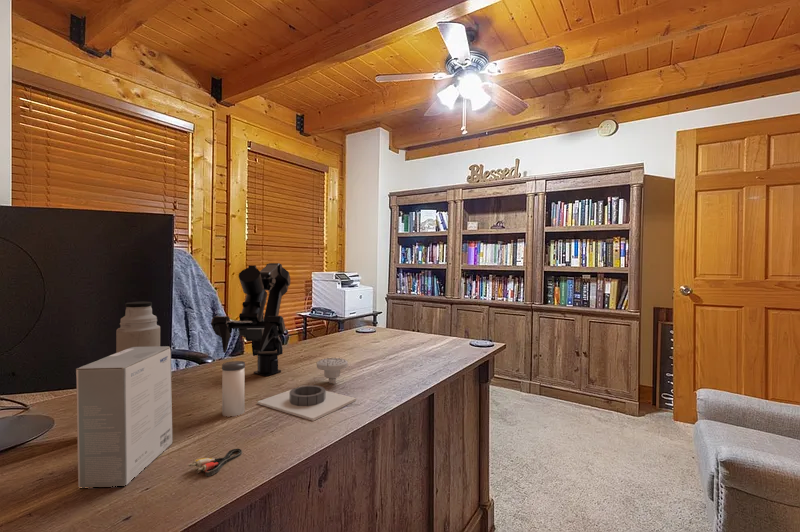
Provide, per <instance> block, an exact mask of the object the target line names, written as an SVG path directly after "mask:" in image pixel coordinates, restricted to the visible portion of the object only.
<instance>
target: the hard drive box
mask: <svg viewBox="0 0 800 532" xmlns="http://www.w3.org/2000/svg"><path fill="white" fill-rule="evenodd" d="M171 355H172V354H171V347H170V346H168V345H167V346H166V345H165V346H164V345H163V346H161V345H160V346H154V347H131V348H129V349H126V350H123V351H121V352H118V353H116V352H115V353H113V354H110V355H108V356H105V357H103V358H100V359H98V360H96V361H93V362H90V363H87V364H85V365H82V366H80V367H77V368H75V375H76V428H77V431H76V432H77V479H78V481H77V488H78V487H82V488H85V487H111V488H118V487H117V486H125V485H126V486H127V485H128V484H130V483H131V482H132V481H133V480H132V479H133V478H134V477H135V478H137V476H139V475H140V474H141V473H142V472H143V470H144V468H145V467H146V468H147V467H148V466H149V465H150V464H152V462H153V461H154V460H156V458H158V457H159V456H160V455H161V454H162V453H164V452H163V451H166V449H168V447H170V446H171V445H172V444H173V408H172V407H173V406H172V404H173V403H172V402H173V400H172V356H171ZM146 468H145V469H146ZM141 471H142V472H141ZM140 472H141V473H140ZM139 473H140V474H139ZM135 478H134V479H135ZM131 480H132V481H131ZM112 486H113V487H112ZM115 486H116V487H115ZM126 486H125V487H126Z"/></svg>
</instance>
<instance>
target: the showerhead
mask: <svg viewBox="0 0 800 532" xmlns="http://www.w3.org/2000/svg"><path fill="white" fill-rule="evenodd" d="M348 365H349V363H348V360H346V359H345V358H340V357H327V358H323V359H319V360H318V361H317V362H316V368H317V369H318V370H320V371H324V372H323V373H324V377H325V378H327V379H328V383H329V384H336V382H337V381H336V380H337V378H339V377H340V376H341V370H344V369H347V368H348Z"/></svg>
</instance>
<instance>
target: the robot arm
mask: <svg viewBox="0 0 800 532" xmlns="http://www.w3.org/2000/svg"><path fill="white" fill-rule="evenodd" d="M265 265H266V266H264V267H263V268H262V269H261V270H259V269H258V268H257V265H253V264H252V265H248V267H247V268H244V269H243V270H241V271H240V272H239V273H238V278H239V282H240V285H241V288H242V291H243V293H244V294H246V296H245V300H244V301H243V302H242V303H241V305H242V310H241V313H239V315H238V317H239V320H231V319H230V316H227V315H225V316H223V315H221V316H219V315H218V316H214V317H212V319H211V322H210V324H211V325H210V326H211V327H212V330H213V332H214V333H215V335H216V336H219V338H221V344H222V352H223V354H226V353H227V350H228V347H229V342H230V338H232V335H231V334H232V332H233V329H236V330H237V329H238V333H239V334H238V335H239V336H240V337H243V338H245V340H246V341H247V342H251V350H252V356H253V357H257V370H255V371H253V374H255V375H260V376H264V377H268V376H271V375H274V374H278V373H281V372H282V369H279V359H278V358H279V357H278V356H280V355H283V353H284V352H283V349H284V347H283V343H282V340H281V337H280V336H283V335H284V334H285V331H286V325H285V320H284V317H283V316H282V315H279V314H280V308H281V303H282V297H283V296H284V295H285V294H286V293H287V292H288V290H289V287H290V286H291V276H290V272H289V271H288V270H287V269H285V268H284V267H283V264H282V263H279V262H278V263H277V262H273V263H272V262H269V263H266V264H265ZM267 291H268V292H267ZM265 306H266V307H265ZM264 310H265V311H264Z"/></svg>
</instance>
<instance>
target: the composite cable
mask: <svg viewBox="0 0 800 532" xmlns="http://www.w3.org/2000/svg"><path fill="white" fill-rule="evenodd" d="M242 453H243V450H242V449H241V448H234V449H230V450H229V451H228V452H227V453H226V454H225V456H224V457H219V458H215V457H214V458H213V457H209V458H208V457H203V458H202V457H201V458H198V459H195V460H194V461H193V462H190V463H188V465H187V466H188V467H196V468H198V469H196V471H195V473H196V474H199V473H200V474H201V473H203V471H204V473H205V476H206V477H211V476H214V475H215V474H217V473H218V472H219V471H220V470H221V469H222V467H224V465H226V464H227V463H229V462H231V461H233V460H234V459H236V458H238V457H240V456H241V455H242ZM233 454H234V455H233Z"/></svg>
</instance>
